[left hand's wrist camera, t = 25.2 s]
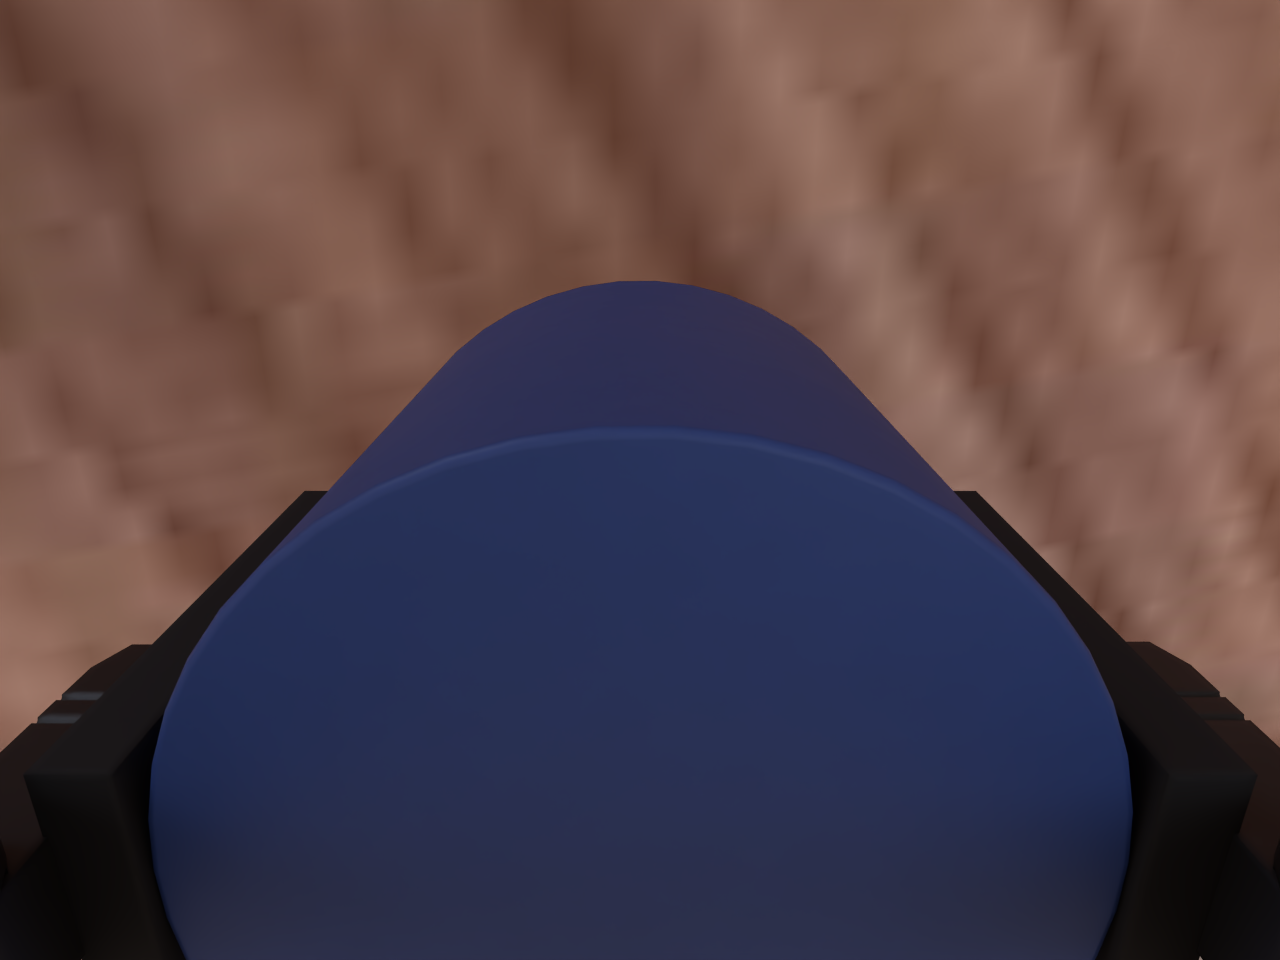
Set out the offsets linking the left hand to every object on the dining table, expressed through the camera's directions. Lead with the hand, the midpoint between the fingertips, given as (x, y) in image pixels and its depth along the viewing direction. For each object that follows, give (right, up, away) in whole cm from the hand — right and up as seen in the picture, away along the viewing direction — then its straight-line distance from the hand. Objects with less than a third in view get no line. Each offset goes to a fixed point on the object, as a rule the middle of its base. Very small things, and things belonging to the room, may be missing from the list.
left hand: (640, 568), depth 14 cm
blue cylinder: (0, 0, +1) cm, 1 cm away
